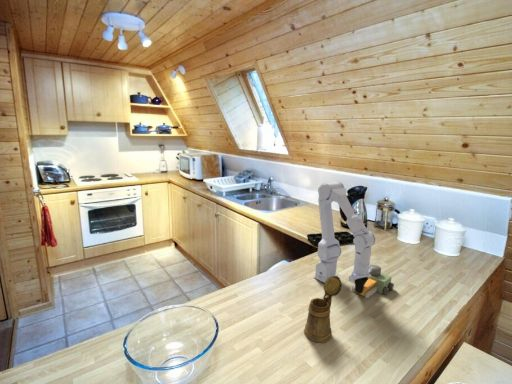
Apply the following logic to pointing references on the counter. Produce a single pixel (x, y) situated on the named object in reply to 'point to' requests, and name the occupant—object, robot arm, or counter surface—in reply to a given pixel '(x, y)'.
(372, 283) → the orange slab
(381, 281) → the mower housing
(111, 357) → the counter surface
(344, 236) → the egg carton
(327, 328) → the wooden mug
